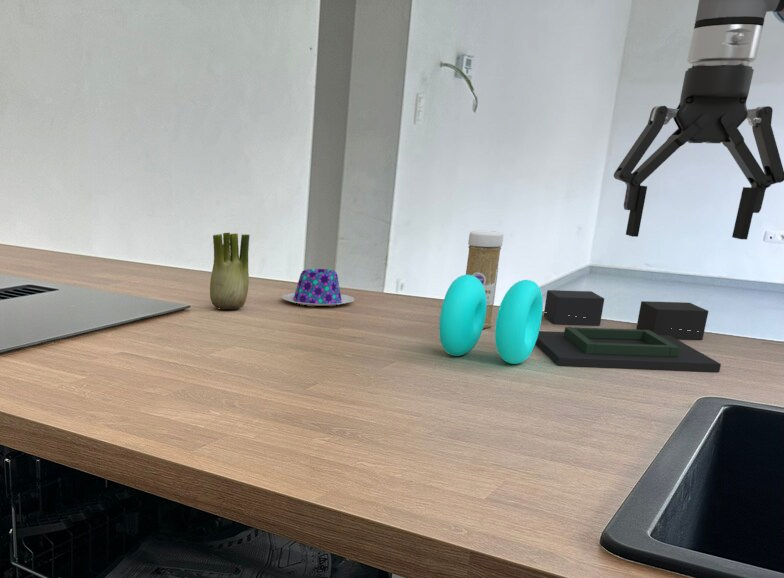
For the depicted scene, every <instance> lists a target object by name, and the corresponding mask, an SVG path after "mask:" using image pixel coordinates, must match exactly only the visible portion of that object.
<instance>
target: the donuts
mask: <svg viewBox="0 0 784 578" xmlns="http://www.w3.org/2000/svg"><path fill="white" fill-rule="evenodd" d="M543 304H544V299H543V292H542V289H541V287H540V286H539V285H538V283H537V282H535V281H533V280H531V279H522V280H518V281H517V282H515V283H514V284H513V285H511V286H510V287H509V288H508V290H507V291H506V292H505V294H504V296H503V298H502V300H501V302H500V304H499V308H498V312H497V315H496V320H495V329H494V341H495V347H496V350H497V353H498V355H499V356H500V358H501V359H502V360H503V361H504V362H506V363H508V364H510V365H517V364H522V363H523V362H525V361H527V359H528V358H529V357H530V356H531V354H532V353H533V350H534V349H535V345H536V344H535V343H536V340H537V337H538V334H539V331H541V330H540V329H541V324H542V318H543V311H544V310H543V308H544V307H543V306H544V305H543ZM486 310H487V299H486V293H485V289H484V286H483V285H482V283H481V281H480V280H479V279H478V278H476V277H475V276H472V275H466V274H463V275H460V276H457V278H455V279H454V280H453V281H452V282H451V284H450V285H449V287H448V288H447V290H446V292H445V295H444V298H443V301H442V305H441V309H440V314H439V315H440V316H439V323H438V326H439V327H438V330H439V331H438V333H439V341H440V344H441V347H442V348H443V350H444V351H445V352H446V353H447V354H449V355H451V356H453V357H461V356H464V355H466V354H468V353H470V351H471V350H473V349H474V348H475V346H476V345H477V343H478V341H479V340H480V338H481V335H482V332H483V330H484V328H483V327H484V323H485V318H486Z"/></svg>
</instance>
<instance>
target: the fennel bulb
mask: <svg viewBox="0 0 784 578" xmlns="http://www.w3.org/2000/svg"><path fill="white" fill-rule="evenodd" d="M212 240H213V241H212V242H213V243H212V244H213V265H212V270H211V276H210V283H209V284H210V285H209V297H210V302H211V304H212V305H213V306H214V307H215V308H216V309H218V308H220V309H219V310H238V309H239V310H240V309H241V308H243V307H244V306H245V304H246V301H247V297H248V293H249V286H250V285H249V284H250V282H249V281H250V276H249V275H250V274H249V247H250V234H249V233H248V234H245V233H244V234H241V237H240V246H239V234H238V233H237V232H236V233H231V232H223V234H222V233H219V234H213V235H212Z"/></svg>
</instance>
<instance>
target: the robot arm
mask: <svg viewBox="0 0 784 578" xmlns="http://www.w3.org/2000/svg"><path fill="white" fill-rule="evenodd" d="M767 12H769V13H771V12H772V14H773V16H774V18H775V19H776V20H777V21H779V22H780V23H782V24H784V0H698V4H697V9H696V15H695V20H694V26H693V32H692V36H691V41H690V46H689V51H688V56H687V61H686V62H687V63H688V64H690V65H691V66H690V67H688V68H687V70H685V72H684V76H683V82H682V88H681V92H680V99H679V104H678V105H677V107H676V108H672V107H668V106H666V105H658V106H654V107H652V109H651V111H650V115H649V118H648V121H647V123H646V126H645V127H644V128H643V130H642V132H640V135H639V136H637V139H636V140H635V142H634V143H633V144H632V146H631V148H630V149H629V151H628V152H627V153H626V155H625V157H624V158H623V159H622V161H621V162H620V164H619V165H618V167H617V168H616V170H615V171H614V173H613V178H614V179H615V180H618V181H620V182H622V183H625V185H626V189H625V195H624V201H623V209H624V210H626V211H629V214H628V219H627V225H626V230H625V235H626V236H629V237H635V238H638V237H639V234H640V228H641V223H642V219H643V212H644V207H645V202H646V196H647V190H648V186H647V185H641V184H642V183H643V182H644V181H646V179H648V178H649V177H650V175H652V174H653V173H654V172H655V171H656V170H657V169H658V168H659V167H660V166H661V165H663V164H664V162H666V160H668V159H669V158H670V157H671V156H672V155H673V154H674V153H675V152H676V151H677V150H679V149H680V148H681V147H682V146H684V145H685V144H686V143H688V144H703V143H705V144H721V143H722V145H723V146H724V147H725V148H726V149H727V150H728V152H729V153H730V155H731V156H732V158H733V160H734V161H735V163H736V164H737V166H738V167H739V169H740V171H741V172H742V174H743V175H744V176H745V179H746V180H747V182H748V184H750V187H749V186H743V187H742V190H741V194H740V199H739V203H738V209H737V213H736V217H735V222H734V226H733V232H732V234H731V238H734V239H737V240H745V241H746V240H748V237H749V233H750V228H751V225H752V220H753V216H754V214H759V213H760V211H761V210H762V206H763V203H764V198H765V193H766V190H767V189H768V188H770V187H772V185H774V184H778V183H780V184H781V183H782V182H783V183H784V166H783V162H782V159H781V156H780V152H779V147H778V145H777V141H776V138H775V134H774V130H773V127H772V121H773V120H772V119H773V112H774V111H773V107H772V106H770V105H766V106H758V107H756V108H748V107H747V100H748V97H749V94H750V89H751V84H752V81H753V76H754V72H755V71H754V68H753V66H750V63H753V62H755V60H757V57H758V51H759V47H760V43H761V38H762V33H763V28H764V24H765V18H766V15H767ZM672 119H673V121H674V123H675V125H676V127H677V128H676V130H674V131H673V132H672V134H670V135H669V136H668V137H667V139H666V141H664V143H662V144H661V145H660V146H659V147H658V148H657V149H656V150H655V151H654V152H653V153H652V154H651V155H650V156H649V157H648V158H647V159H646V160H644V161H643V162H642V164H640V165H639V163H640V161H641V160H642V158H643V156H644V155H645V154H646V152H648V149H649V148H650V146H651V145H652V143H653V142H654V141H655V139H656V138H657V137H658V135H659V134H660V132H661V130H662V129H663V126H666V125H668V124H669V122H670V121H671V120H672ZM746 120H747V123H748V125H749V126H751V130H752V135H753V138H754V141H755V144H756V149H757V152H758V156H759V158H760V162H761V165H762V167H761V166H760V164H759V163H758V161H757V159H756V157H755V156H754V154H753V153H752V152H751V150H750V148H749V146H748V145H747V143H746V142H745V137H744V136H743V134H742V132H741V131H740V130H739V127H740V126H741V125H742V124H743V123H744V122H745V121H746ZM638 165H639V166H638ZM637 166H638V167H637ZM636 167H637V168H636ZM635 168H636V169H635ZM634 169H635V170H634Z"/></svg>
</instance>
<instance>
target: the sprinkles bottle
mask: <svg viewBox="0 0 784 578" xmlns="http://www.w3.org/2000/svg"><path fill="white" fill-rule="evenodd" d="M503 242H504V233H503V232H500V231H496V230H495V231H494V230H472V231H470V232H469V235H468V242H467V244H468V256H467V261H466V262H467V263H466V270H465V275H472V276H475V277H476V278H478V279H479V280H480V281H481V283H482V285H483V286H484V289H485V293H486V299H487V310H486V318H485V323H484V327H483V329H488V328H490V327H491V326H493V325H492V317H493V310H494V304H495V299H496V298H495V297H496V289H497V282H498V274H499V263H500V257H501V256H500V253H501V250H502V247H503Z"/></svg>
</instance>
